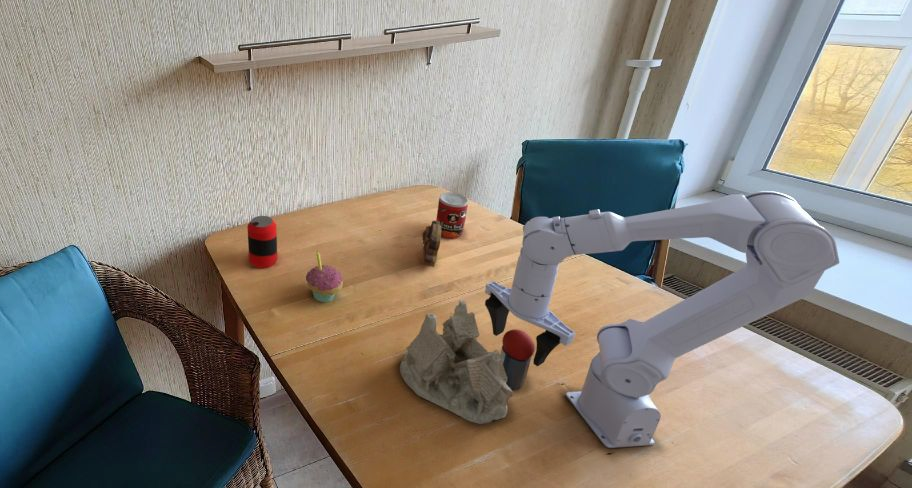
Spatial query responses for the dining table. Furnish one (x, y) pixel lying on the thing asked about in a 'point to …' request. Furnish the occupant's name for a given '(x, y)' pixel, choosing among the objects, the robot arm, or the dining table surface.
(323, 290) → the cupcake
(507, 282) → the dining table surface
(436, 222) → the wooden carving
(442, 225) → the canned food
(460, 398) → the ceramic cottage
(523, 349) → the ball
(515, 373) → the cup
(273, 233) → the soda can
